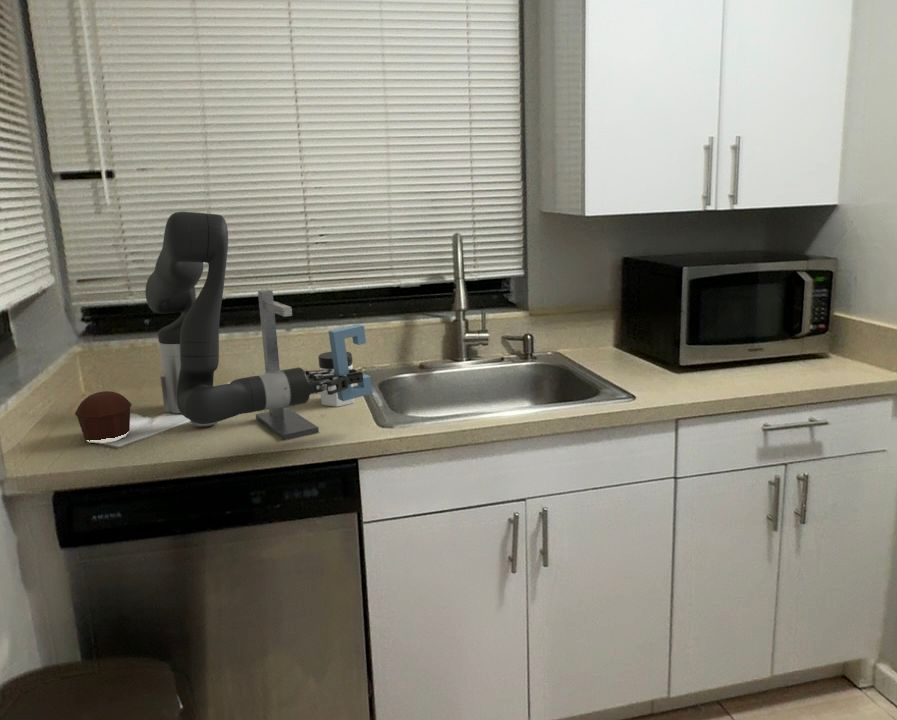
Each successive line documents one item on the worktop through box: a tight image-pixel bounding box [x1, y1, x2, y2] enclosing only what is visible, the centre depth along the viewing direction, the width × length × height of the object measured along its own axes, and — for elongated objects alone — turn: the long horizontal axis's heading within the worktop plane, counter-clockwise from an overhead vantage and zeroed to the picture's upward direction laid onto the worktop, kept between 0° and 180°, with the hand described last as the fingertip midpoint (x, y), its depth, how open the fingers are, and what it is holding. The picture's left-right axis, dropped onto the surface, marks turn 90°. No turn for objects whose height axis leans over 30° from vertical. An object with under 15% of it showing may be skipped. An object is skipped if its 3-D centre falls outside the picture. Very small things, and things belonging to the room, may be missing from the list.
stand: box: [255, 289, 320, 441], centre depth 167 cm, size 8×18×30 cm, turn 33°
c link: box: [328, 323, 374, 401], centre depth 160 cm, size 7×3×15 cm, turn 123°
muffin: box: [74, 391, 132, 441], centre depth 166 cm, size 12×11×10 cm
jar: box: [318, 351, 356, 408], centre depth 186 cm, size 9×8×12 cm
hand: (358, 375), depth 162 cm, fingers closed on c link, 2 cm apart
